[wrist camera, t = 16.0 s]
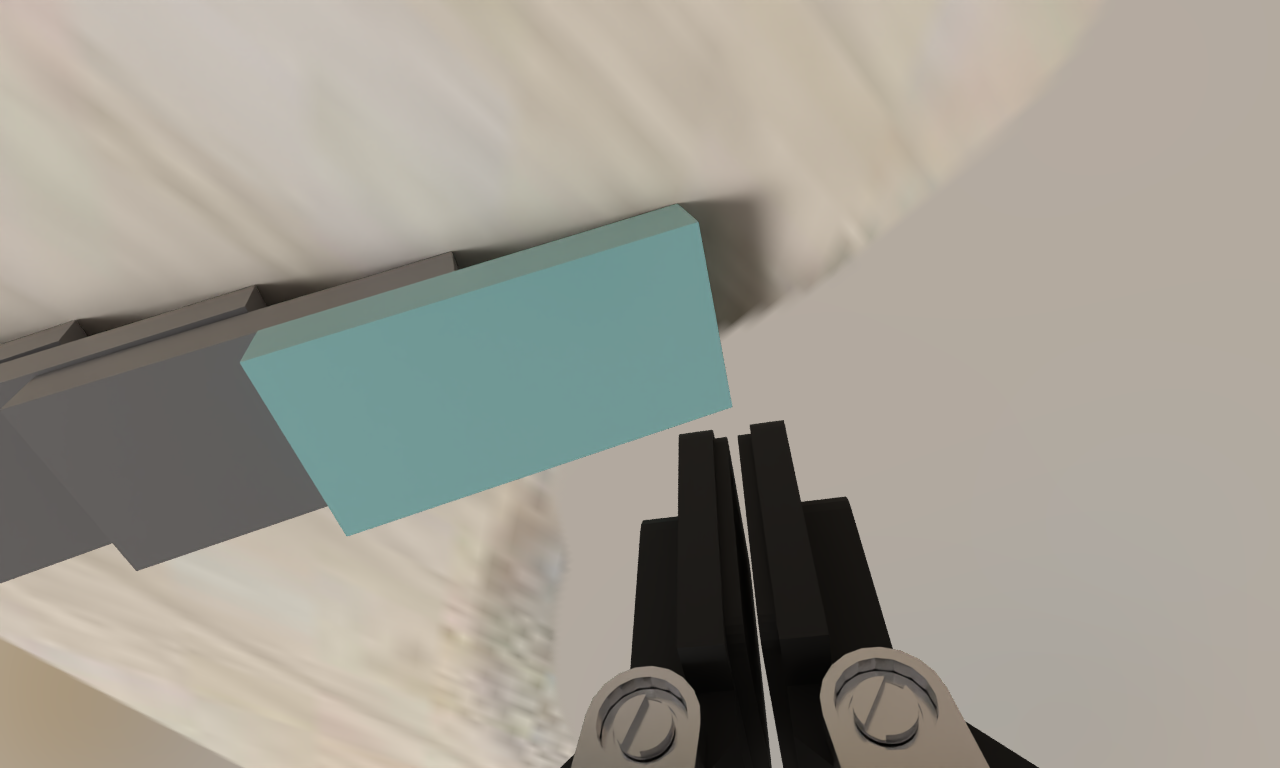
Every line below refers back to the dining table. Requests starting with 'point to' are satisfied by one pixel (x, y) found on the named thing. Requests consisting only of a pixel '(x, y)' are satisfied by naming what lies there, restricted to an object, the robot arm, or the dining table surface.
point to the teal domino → (497, 368)
